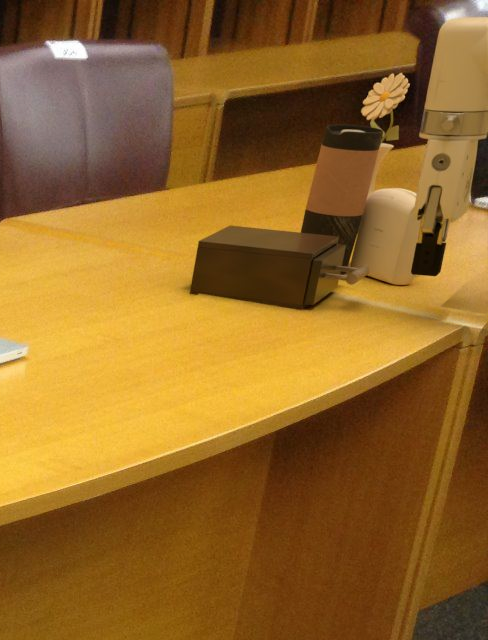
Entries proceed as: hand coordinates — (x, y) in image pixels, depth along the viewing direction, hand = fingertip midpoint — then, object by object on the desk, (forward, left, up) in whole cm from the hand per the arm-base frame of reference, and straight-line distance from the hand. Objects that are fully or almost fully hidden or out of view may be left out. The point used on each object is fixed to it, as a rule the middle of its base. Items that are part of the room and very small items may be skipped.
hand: (425, 274), depth 198 cm
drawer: (+16, 0, -4) cm, 17 cm away
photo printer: (+9, -22, -5) cm, 24 cm away
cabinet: (+20, 0, -5) cm, 21 cm away
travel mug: (+17, -21, -5) cm, 27 cm away
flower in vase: (+20, -59, -5) cm, 62 cm away
